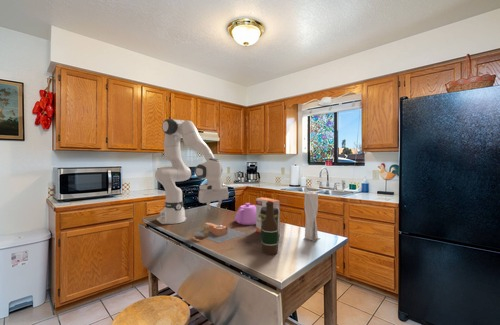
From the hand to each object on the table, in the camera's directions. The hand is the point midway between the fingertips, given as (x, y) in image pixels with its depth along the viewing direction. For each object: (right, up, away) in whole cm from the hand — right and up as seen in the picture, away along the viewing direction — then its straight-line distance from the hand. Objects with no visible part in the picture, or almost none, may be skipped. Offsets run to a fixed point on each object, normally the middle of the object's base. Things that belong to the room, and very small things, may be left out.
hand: (214, 208), depth 145 cm
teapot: (+22, -14, +18) cm, 32 cm away
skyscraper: (+55, -15, -12) cm, 59 cm away
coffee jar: (+32, -15, -16) cm, 39 cm away
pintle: (+4, -15, -6) cm, 16 cm away
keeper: (-3, -15, -9) cm, 18 cm away
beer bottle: (+31, -15, -30) cm, 46 cm away
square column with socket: (+1, -14, -3) cm, 14 cm away
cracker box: (+32, -15, -5) cm, 35 cm away
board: (+4, -15, -5) cm, 16 cm away
